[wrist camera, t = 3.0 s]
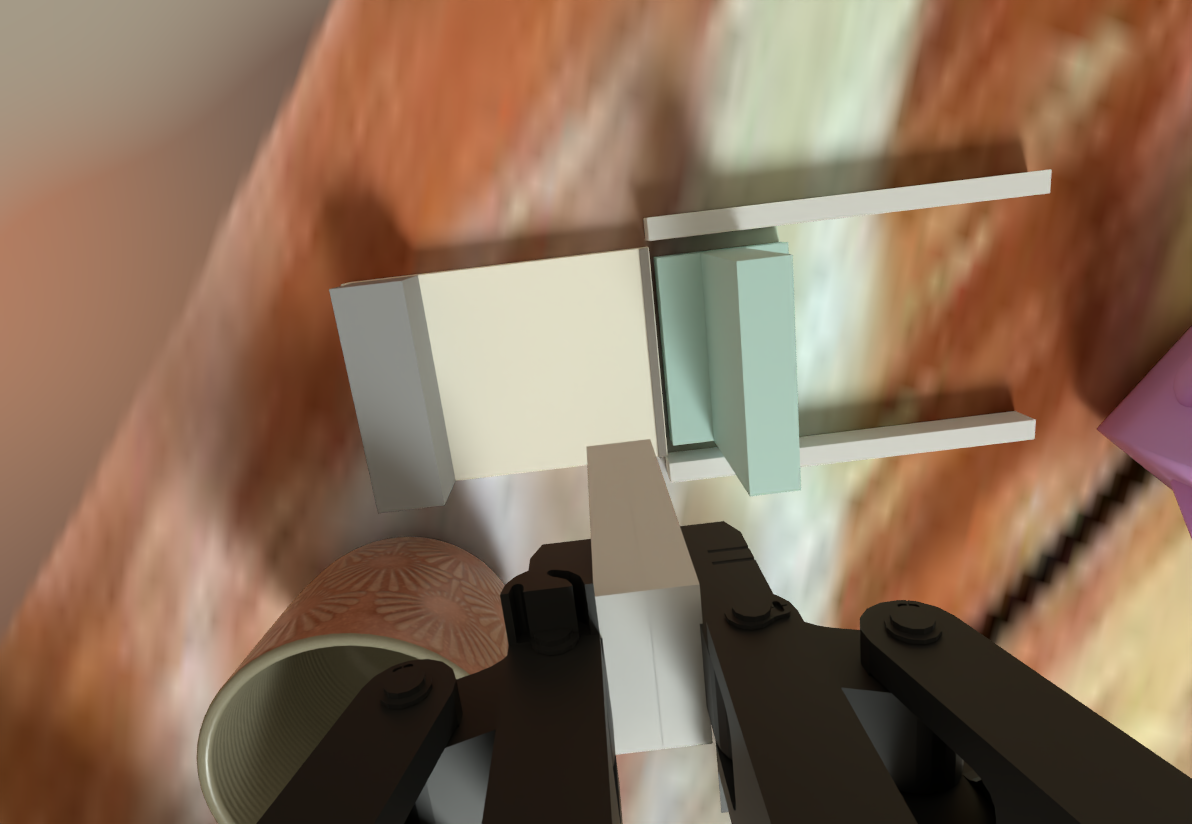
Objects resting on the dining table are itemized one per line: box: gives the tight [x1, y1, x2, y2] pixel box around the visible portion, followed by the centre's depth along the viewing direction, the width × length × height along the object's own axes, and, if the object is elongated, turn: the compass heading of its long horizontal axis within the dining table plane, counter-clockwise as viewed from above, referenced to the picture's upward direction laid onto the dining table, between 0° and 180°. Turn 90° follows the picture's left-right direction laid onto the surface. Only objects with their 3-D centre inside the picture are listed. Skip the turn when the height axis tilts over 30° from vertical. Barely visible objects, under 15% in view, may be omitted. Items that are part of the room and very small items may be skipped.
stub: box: [654, 242, 801, 496], centre depth 29 cm, size 6×9×8 cm, turn 7°
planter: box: [197, 537, 509, 824], centre depth 32 cm, size 12×12×11 cm
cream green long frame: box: [329, 169, 1052, 513], centre depth 31 cm, size 32×13×4 cm, turn 97°
